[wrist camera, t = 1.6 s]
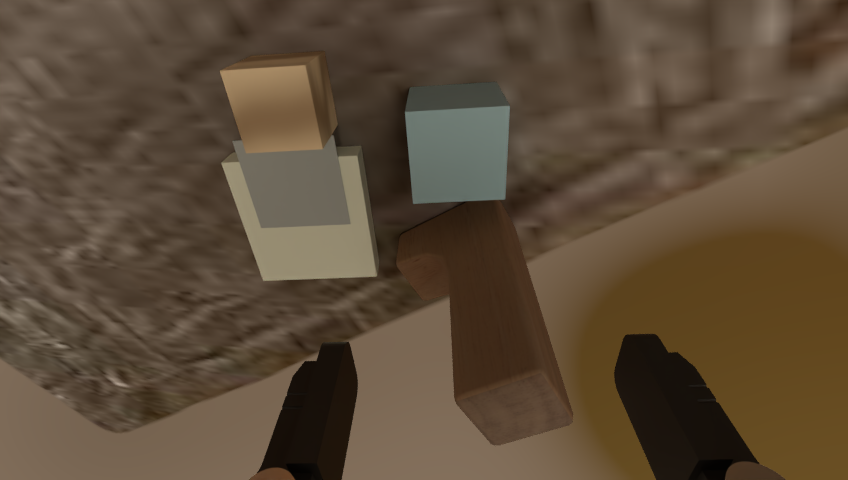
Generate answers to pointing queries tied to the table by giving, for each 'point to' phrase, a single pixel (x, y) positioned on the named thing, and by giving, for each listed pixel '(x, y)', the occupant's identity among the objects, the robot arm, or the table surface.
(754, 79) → the table surface
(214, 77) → the table surface
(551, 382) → the wooden block
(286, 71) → the oak block
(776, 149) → the table surface
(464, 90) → the cube
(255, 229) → the foundation board
